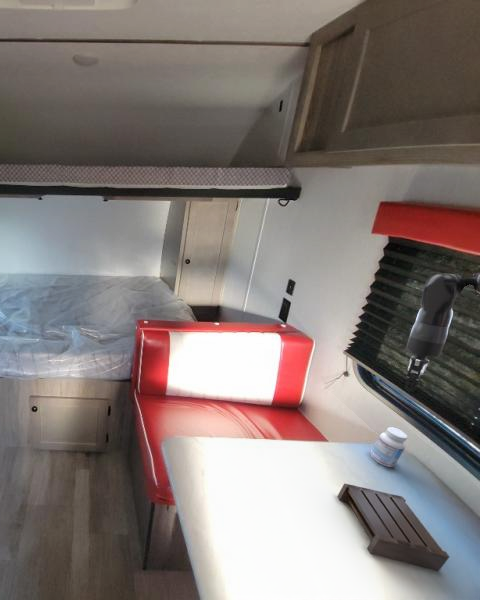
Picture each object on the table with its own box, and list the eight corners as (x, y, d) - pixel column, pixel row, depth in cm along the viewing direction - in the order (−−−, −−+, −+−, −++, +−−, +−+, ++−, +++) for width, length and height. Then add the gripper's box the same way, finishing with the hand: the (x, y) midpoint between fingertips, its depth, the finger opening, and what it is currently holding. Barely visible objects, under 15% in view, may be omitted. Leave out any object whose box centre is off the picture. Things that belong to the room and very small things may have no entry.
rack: (394, 509, 89) (402, 496, 87) (438, 571, 75) (449, 556, 73) (337, 496, 91) (344, 483, 89) (369, 553, 77) (379, 539, 75)
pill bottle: (385, 454, 108) (401, 427, 104) (399, 469, 102) (416, 441, 98) (365, 450, 108) (380, 423, 104) (377, 465, 103) (393, 437, 99)
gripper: (443, 345, 94) (424, 397, 97) (446, 339, 103) (429, 388, 106) (406, 337, 99) (390, 387, 102) (413, 332, 108) (398, 378, 111)
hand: (410, 387), depth 104 cm, fingers open, 8 cm apart
